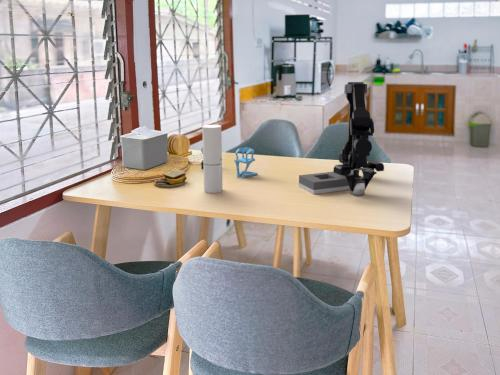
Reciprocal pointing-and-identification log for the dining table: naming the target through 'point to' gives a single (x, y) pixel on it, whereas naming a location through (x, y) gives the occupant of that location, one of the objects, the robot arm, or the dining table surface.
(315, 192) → the grey plate with pocket
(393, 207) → the dining table surface
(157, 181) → the toy sandwich meal
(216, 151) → the cylindrical container
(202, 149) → the watch
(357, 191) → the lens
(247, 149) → the chair
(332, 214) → the dining table surface
